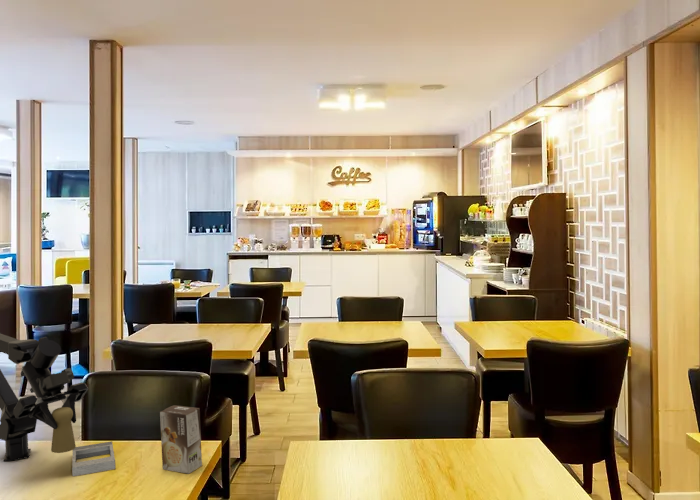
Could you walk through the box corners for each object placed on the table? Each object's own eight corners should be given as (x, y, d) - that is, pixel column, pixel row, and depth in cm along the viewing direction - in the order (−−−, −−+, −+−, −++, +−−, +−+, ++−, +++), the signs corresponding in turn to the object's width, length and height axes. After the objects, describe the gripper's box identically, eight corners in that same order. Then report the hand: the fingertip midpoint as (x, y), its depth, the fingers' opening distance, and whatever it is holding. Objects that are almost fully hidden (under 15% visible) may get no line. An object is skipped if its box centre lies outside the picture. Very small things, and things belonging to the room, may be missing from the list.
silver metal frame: (73, 455, 174) (72, 447, 174) (112, 449, 178) (112, 441, 178) (72, 476, 160) (72, 467, 159) (115, 468, 164) (115, 460, 164)
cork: (69, 452, 158) (68, 411, 158) (46, 453, 158) (45, 412, 158) (79, 444, 164) (78, 404, 164) (57, 444, 164) (56, 404, 164)
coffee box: (203, 465, 165) (201, 407, 165) (188, 474, 160) (186, 414, 159) (176, 460, 169) (174, 404, 168) (160, 469, 163) (158, 411, 162)
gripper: (17, 368, 154) (43, 418, 149) (83, 353, 170) (109, 398, 165) (2, 394, 159) (27, 443, 154) (67, 377, 175) (92, 421, 169)
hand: (65, 425), depth 160 cm, fingers closed on cork, 5 cm apart
